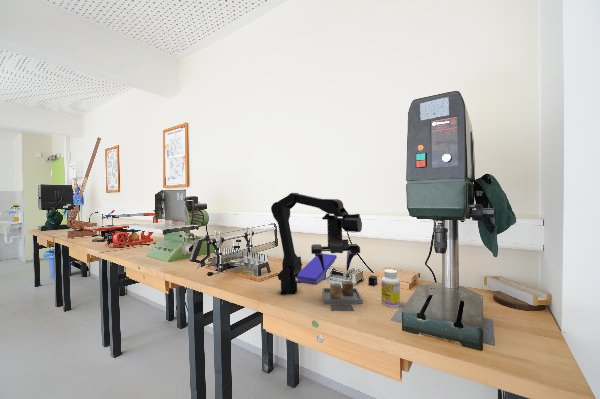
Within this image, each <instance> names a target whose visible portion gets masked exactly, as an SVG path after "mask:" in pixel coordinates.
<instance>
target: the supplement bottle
mask: <svg viewBox="0 0 600 399" xmlns="http://www.w3.org/2000/svg"><path fill="white" fill-rule="evenodd" d="M383 274H384V276H382V277H381V304H382V305H383V306H386V307H391V308H396V307H400V304H401V289H400V288H401V280H400V278H399V277H398V276H397V275H398V271H397V270H396V269H391V268H390V269H387V268H386V269H384V270H383Z"/></svg>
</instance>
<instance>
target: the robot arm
mask: <svg viewBox="0 0 600 399" xmlns="http://www.w3.org/2000/svg"><path fill="white" fill-rule="evenodd" d="M297 204H300V205H304V206H309V207H313V208H316V209H319V210H321V211H323V212H325V215H324V216H322V217H321V219H322V220H324V221H326V222H327V228H326V229H327V230H326V231H327V246H322V244H321V243H319V244H314V243H313V244H311V247H310V248H311V249H310V250H311V252H310V253H311V254H312V255H314V257H315V256H318V258H319V260H320V262H321V265H322V268H323V271H324V262H323V255H322V254H323V252H330V253H331V254H344V252H347V253H346V271H349V269H350V266H351V263H352V259H353V258H354V257H355V256H357V255H358V254H360V253H361V246H360V245H358V244H357V243H349V239H348V238H347V239H343V230H344V232H346V233H347V232H353V233H361V232H362V229H363V222H362V219H361V214H360V213H355V214H354V213H353V214H349V212H348V211H347V210H346V208H345V207H344V203H343V201H342V200H340V199H338V198H331V199H330V198H320V197H314V196H309V195H306V194H302V193H298V192H291V193H288V195H286V196H285V197H283V198H280V199H279V200H278V201H275V202H273V203H272V205H271V207H270V209H271V210H270V211H271V213H272V216H273V217H272V218H274V220H275V221H276V223H277V225H278V231H279V236H280V242H281V246H282V253H283V259H282V262H281V263H282V264H281V265H282V266H281V268H282V269H281V271H280V272H279V273H278V274H277V279H278V280H279V281H280V294H279V295H296V293H297V292H298V279H296V276H298V273H299V272H300V271H301V270H302V269H303V263H302V257H301V256H300V255H299V256H298V255H297V253H296V251H295V247H294V242H293V236H292V231H291V226H290V218H291V209H293V207H295V205H297Z"/></svg>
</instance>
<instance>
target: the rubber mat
mask: <svg viewBox="0 0 600 399" xmlns="http://www.w3.org/2000/svg"><path fill="white" fill-rule="evenodd" d="M329 305H330V306H329V307H330V311H332V312H335V311H336V312H337V311H338V312H354V307H353V304H329Z"/></svg>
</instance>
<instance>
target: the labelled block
mask: <svg viewBox="0 0 600 399" xmlns="http://www.w3.org/2000/svg"><path fill="white" fill-rule="evenodd" d="M329 288H330V299H341V288H342V283H335V282H334V283H333V282H331V283H329Z"/></svg>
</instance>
